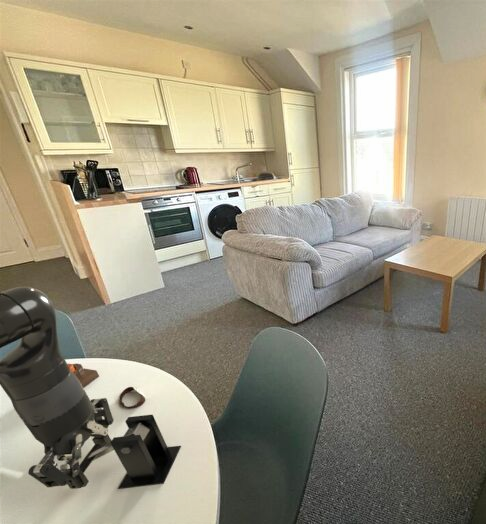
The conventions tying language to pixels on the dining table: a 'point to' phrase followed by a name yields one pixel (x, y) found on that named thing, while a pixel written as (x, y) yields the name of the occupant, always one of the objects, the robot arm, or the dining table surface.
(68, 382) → the robot arm
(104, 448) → the lever
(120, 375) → the dining table surface
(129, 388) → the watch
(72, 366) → the button
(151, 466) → the bracket
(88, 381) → the button block
